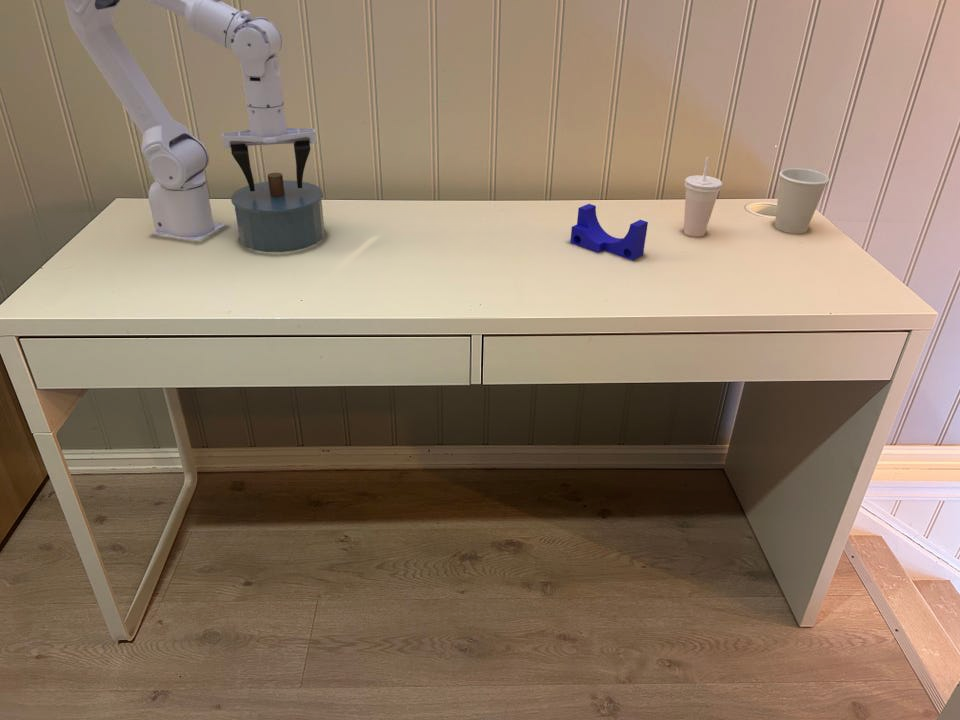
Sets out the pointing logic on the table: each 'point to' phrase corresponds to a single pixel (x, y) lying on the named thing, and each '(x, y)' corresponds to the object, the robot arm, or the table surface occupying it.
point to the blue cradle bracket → (607, 235)
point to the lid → (277, 196)
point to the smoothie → (699, 201)
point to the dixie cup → (798, 198)
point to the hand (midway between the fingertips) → (276, 187)
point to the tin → (281, 229)
